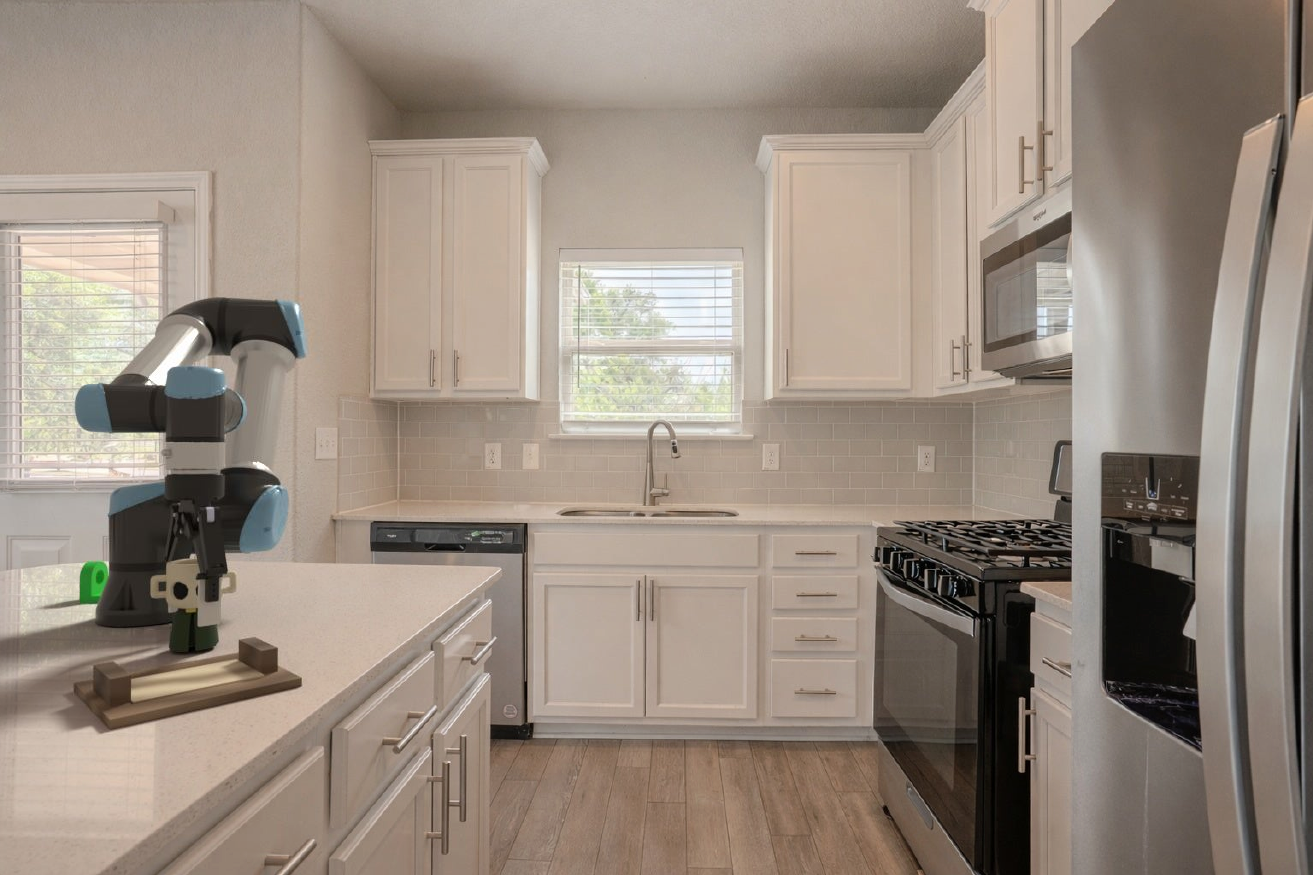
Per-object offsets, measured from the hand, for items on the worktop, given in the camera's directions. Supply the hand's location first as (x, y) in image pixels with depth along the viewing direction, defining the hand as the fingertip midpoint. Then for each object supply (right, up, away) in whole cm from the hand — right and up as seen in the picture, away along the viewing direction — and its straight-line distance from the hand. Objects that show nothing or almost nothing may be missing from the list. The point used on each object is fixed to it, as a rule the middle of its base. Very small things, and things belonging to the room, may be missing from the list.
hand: (193, 617), depth 112 cm
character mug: (0, -5, 0) cm, 5 cm away
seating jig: (+10, -5, -17) cm, 20 cm away
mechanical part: (-37, -5, +36) cm, 51 cm away
